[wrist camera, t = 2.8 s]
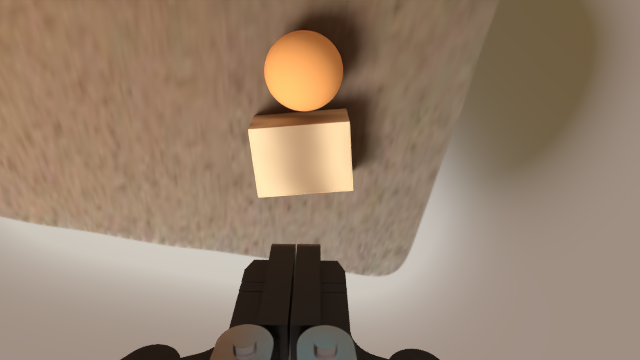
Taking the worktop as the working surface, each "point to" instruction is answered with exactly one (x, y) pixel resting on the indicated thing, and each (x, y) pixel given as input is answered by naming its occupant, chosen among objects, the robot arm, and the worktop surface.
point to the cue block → (301, 152)
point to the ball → (303, 70)
